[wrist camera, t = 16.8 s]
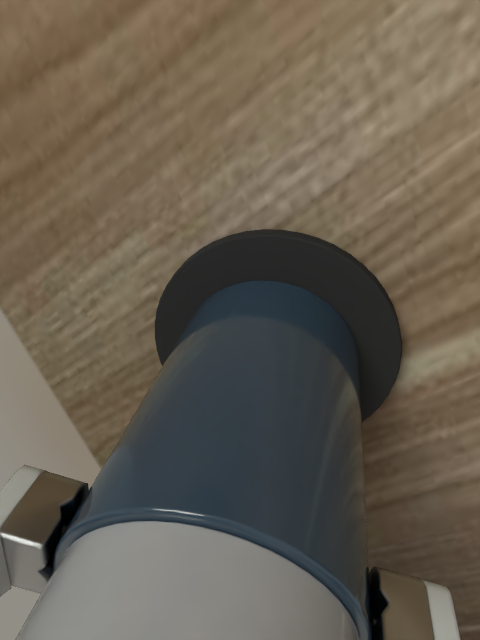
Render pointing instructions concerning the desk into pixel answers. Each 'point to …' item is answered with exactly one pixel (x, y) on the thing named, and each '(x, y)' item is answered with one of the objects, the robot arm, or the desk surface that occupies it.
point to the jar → (228, 489)
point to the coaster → (300, 270)
